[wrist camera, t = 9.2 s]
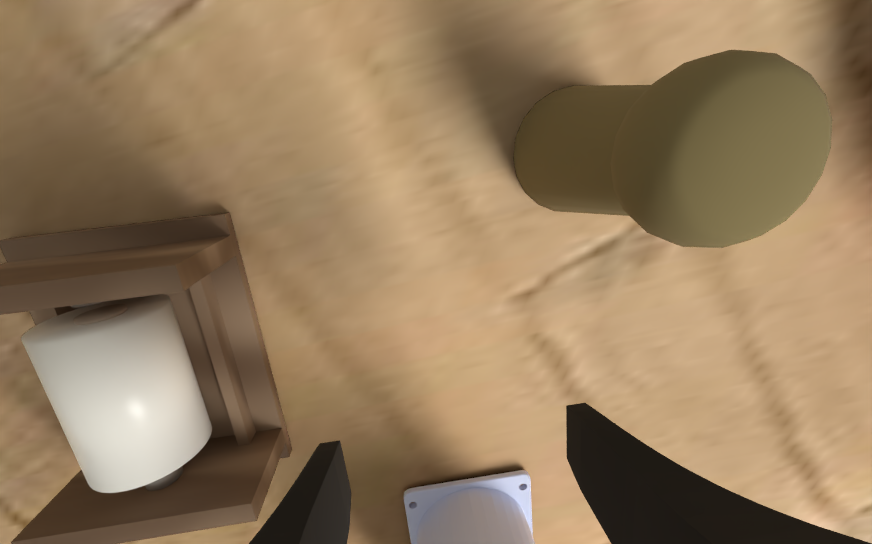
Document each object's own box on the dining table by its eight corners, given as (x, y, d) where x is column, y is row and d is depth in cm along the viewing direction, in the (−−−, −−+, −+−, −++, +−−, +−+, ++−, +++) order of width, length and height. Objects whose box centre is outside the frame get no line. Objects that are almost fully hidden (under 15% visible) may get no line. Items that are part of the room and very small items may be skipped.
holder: (291, 449, 24) (262, 537, 18) (114, 476, 23) (30, 575, 18) (229, 212, 19) (166, 237, 14) (9, 238, 19) (-144, 274, 13)
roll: (229, 412, 22) (179, 487, 17) (135, 424, 22) (58, 503, 17) (190, 285, 20) (120, 330, 15) (85, 298, 19) (-20, 347, 15)
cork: (490, 174, 20) (594, 204, 10) (559, 59, 19) (766, -52, 8) (584, 232, 21) (765, 315, 11) (654, 129, 20) (934, 110, 10)
